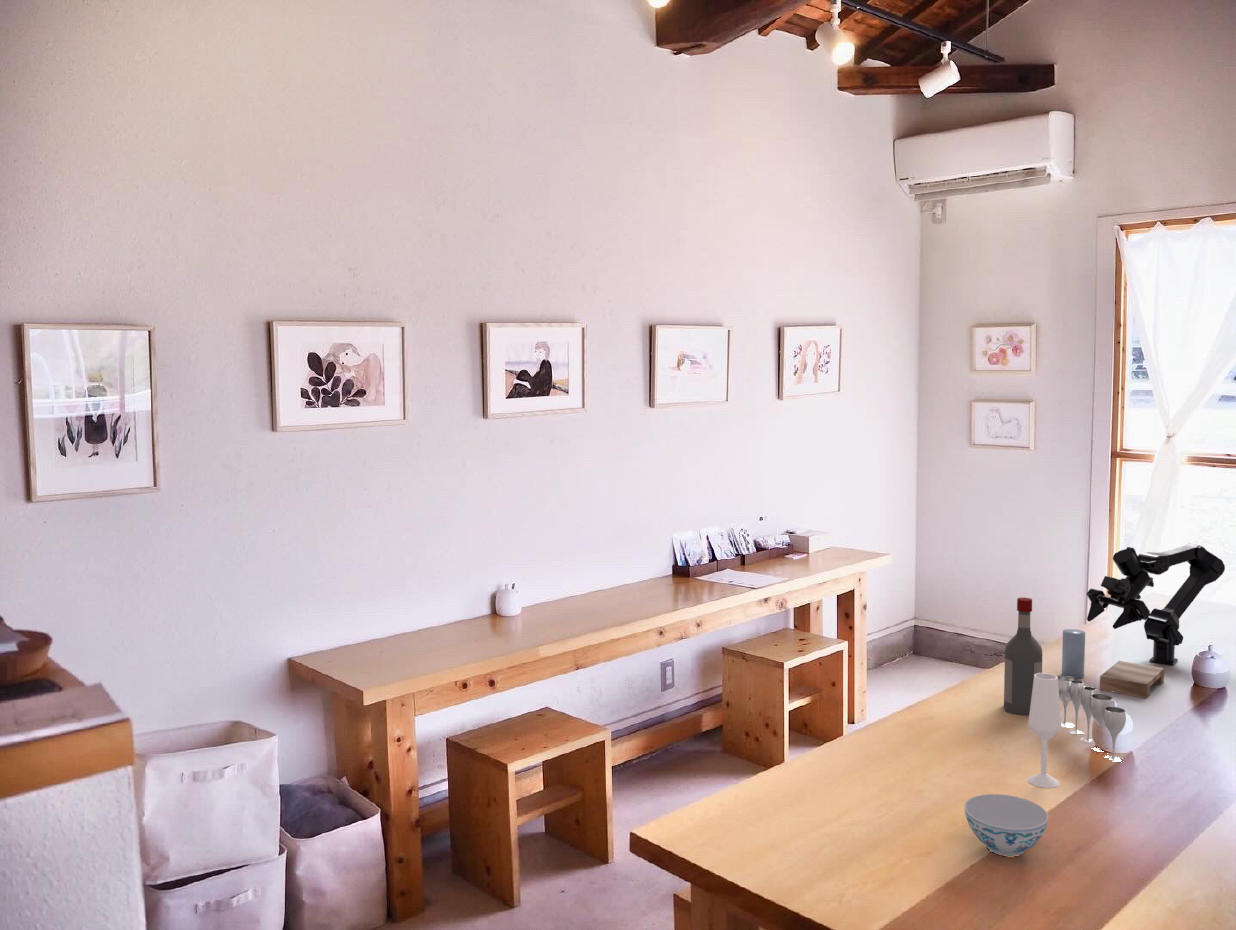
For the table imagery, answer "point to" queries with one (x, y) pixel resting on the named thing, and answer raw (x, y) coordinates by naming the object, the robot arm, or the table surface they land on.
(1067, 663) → the tall grey cylinder
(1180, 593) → the robot arm
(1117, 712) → the goblet set
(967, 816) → the chinaware
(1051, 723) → the champagne flute
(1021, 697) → the liquor
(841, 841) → the table surface
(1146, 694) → the riser
